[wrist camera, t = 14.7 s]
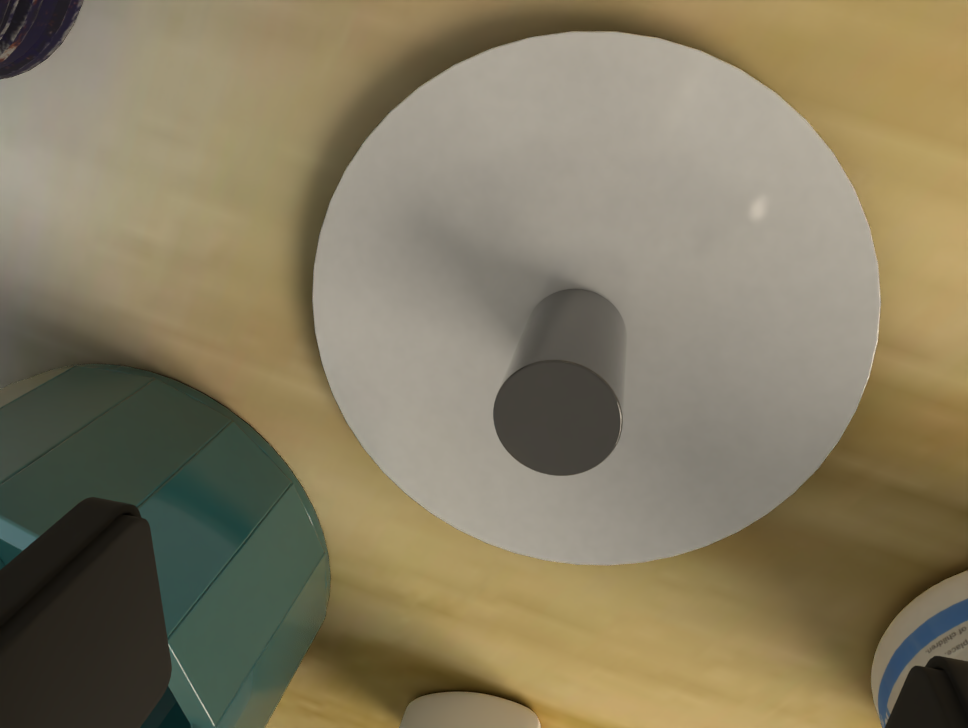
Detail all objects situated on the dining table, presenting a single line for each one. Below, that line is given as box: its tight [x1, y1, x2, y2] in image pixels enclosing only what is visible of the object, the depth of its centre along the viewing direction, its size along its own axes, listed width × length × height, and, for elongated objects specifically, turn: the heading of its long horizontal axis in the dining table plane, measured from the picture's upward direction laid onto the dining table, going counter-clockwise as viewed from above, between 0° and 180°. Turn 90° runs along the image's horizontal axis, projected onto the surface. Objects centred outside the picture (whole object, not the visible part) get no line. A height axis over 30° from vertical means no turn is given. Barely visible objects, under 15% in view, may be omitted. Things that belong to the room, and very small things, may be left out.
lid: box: [312, 31, 881, 565], centre depth 20 cm, size 17×17×7 cm
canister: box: [0, 364, 331, 728], centre depth 26 cm, size 16×16×8 cm
